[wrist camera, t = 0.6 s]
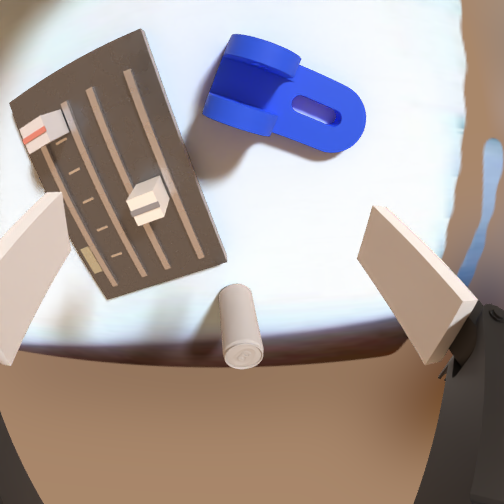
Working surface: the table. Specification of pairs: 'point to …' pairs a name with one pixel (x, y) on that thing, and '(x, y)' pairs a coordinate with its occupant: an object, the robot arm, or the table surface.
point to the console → (121, 168)
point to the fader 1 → (43, 130)
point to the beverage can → (239, 327)
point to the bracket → (280, 96)
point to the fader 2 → (148, 201)
